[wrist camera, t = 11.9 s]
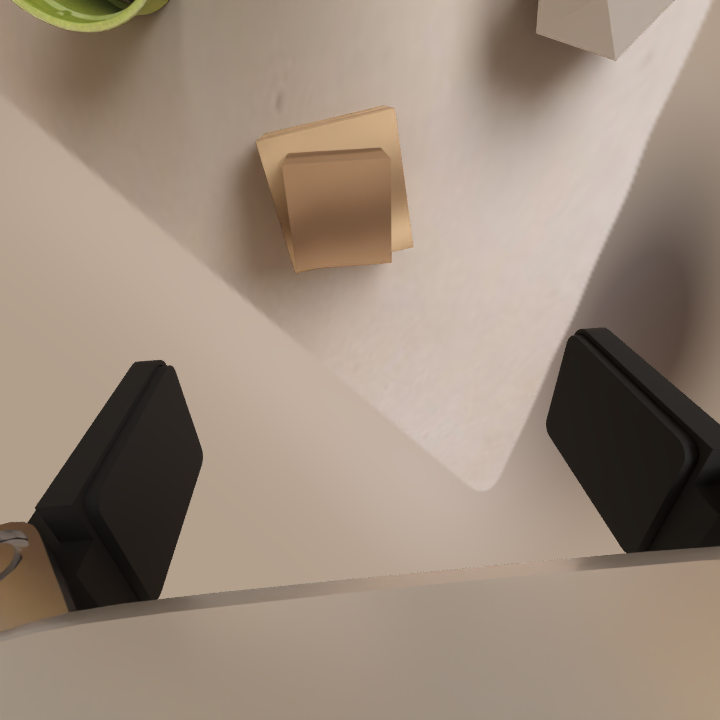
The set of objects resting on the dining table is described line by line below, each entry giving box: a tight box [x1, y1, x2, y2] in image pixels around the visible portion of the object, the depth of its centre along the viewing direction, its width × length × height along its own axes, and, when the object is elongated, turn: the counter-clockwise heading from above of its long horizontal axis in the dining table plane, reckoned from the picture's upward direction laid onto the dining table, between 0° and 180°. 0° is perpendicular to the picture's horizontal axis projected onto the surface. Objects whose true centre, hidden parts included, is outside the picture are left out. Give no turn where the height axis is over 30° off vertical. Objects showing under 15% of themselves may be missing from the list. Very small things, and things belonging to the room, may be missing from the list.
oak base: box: [256, 106, 413, 273], centre depth 32 cm, size 9×9×6 cm
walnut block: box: [282, 147, 392, 270], centre depth 27 cm, size 6×6×5 cm
